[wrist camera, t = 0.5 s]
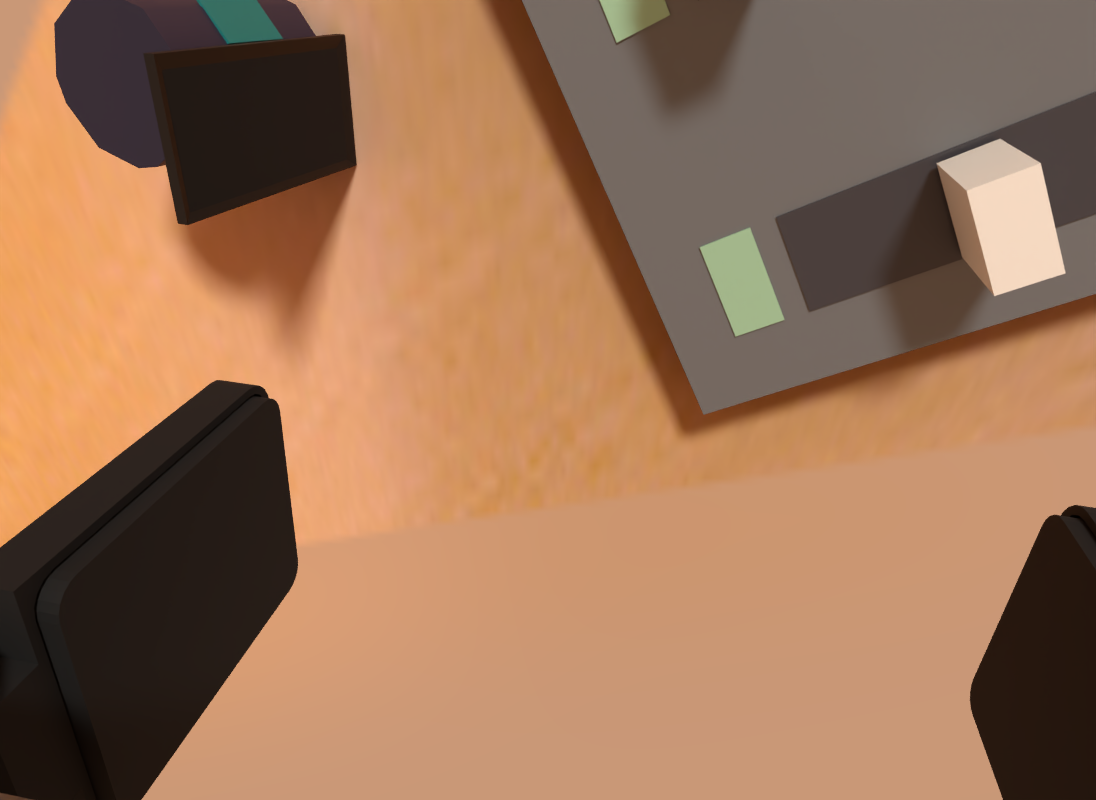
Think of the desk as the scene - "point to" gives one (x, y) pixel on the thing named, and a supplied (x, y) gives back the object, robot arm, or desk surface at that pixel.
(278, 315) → the desk surface
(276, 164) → the speaker
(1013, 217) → the block
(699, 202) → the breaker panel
